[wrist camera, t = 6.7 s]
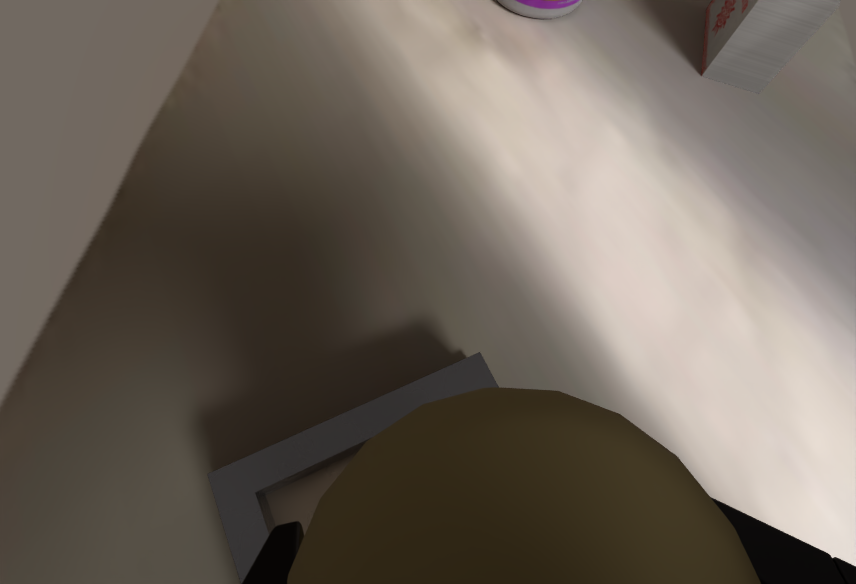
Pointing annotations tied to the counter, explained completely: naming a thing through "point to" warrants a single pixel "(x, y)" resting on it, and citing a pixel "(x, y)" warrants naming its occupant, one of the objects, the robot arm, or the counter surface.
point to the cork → (517, 502)
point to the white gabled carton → (757, 38)
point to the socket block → (319, 460)
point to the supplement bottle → (541, 7)
